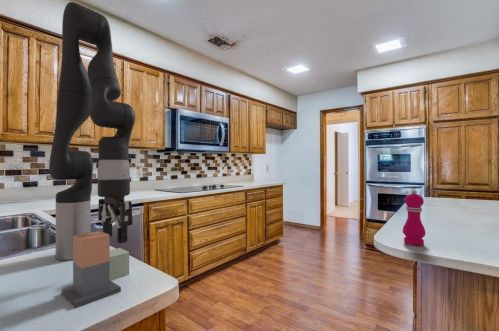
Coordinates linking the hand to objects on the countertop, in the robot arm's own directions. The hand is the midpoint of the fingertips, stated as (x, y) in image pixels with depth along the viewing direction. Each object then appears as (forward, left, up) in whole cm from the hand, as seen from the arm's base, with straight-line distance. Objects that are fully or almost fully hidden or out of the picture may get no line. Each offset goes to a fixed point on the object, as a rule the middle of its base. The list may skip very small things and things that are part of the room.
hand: (114, 239), depth 69 cm
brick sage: (0, 0, -9) cm, 9 cm away
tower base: (+6, -8, -9) cm, 13 cm away
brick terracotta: (+6, -8, -2) cm, 10 cm away
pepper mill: (+56, +83, -10) cm, 101 cm away
